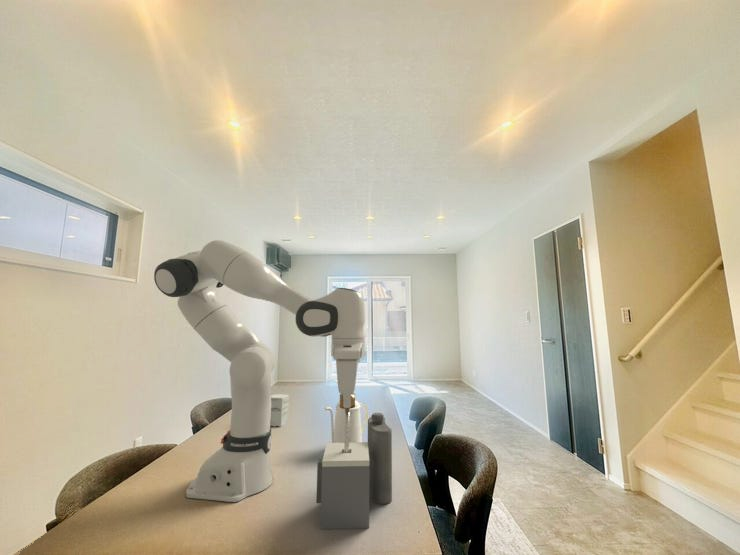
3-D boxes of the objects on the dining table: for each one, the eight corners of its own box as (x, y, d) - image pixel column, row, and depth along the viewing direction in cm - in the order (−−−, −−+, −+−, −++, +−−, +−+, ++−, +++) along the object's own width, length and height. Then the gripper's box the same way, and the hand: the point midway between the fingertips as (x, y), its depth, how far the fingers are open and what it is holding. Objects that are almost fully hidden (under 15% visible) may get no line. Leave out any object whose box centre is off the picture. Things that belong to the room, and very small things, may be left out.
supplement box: (265, 426, 136) (267, 397, 138) (273, 421, 143) (275, 393, 145) (281, 427, 135) (282, 397, 137) (288, 422, 142) (289, 394, 144)
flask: (365, 476, 91) (365, 407, 94) (383, 475, 92) (383, 406, 95) (371, 505, 77) (371, 422, 80) (393, 504, 77) (393, 421, 80)
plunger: (331, 507, 70) (333, 397, 74) (333, 492, 77) (335, 391, 81) (359, 506, 71) (360, 397, 75) (359, 491, 77) (360, 391, 81)
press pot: (313, 529, 68) (315, 461, 70) (319, 501, 78) (320, 442, 81) (369, 528, 68) (369, 460, 70) (367, 500, 79) (367, 442, 81)
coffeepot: (310, 457, 104) (312, 400, 107) (356, 436, 124) (357, 389, 127) (333, 466, 98) (334, 405, 101) (378, 443, 117) (378, 392, 120)
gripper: (338, 346, 90) (337, 395, 87) (333, 352, 69) (332, 416, 67) (359, 346, 90) (359, 394, 88) (360, 352, 70) (360, 415, 68)
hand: (347, 404), depth 77 cm, fingers closed on plunger, 4 cm apart
